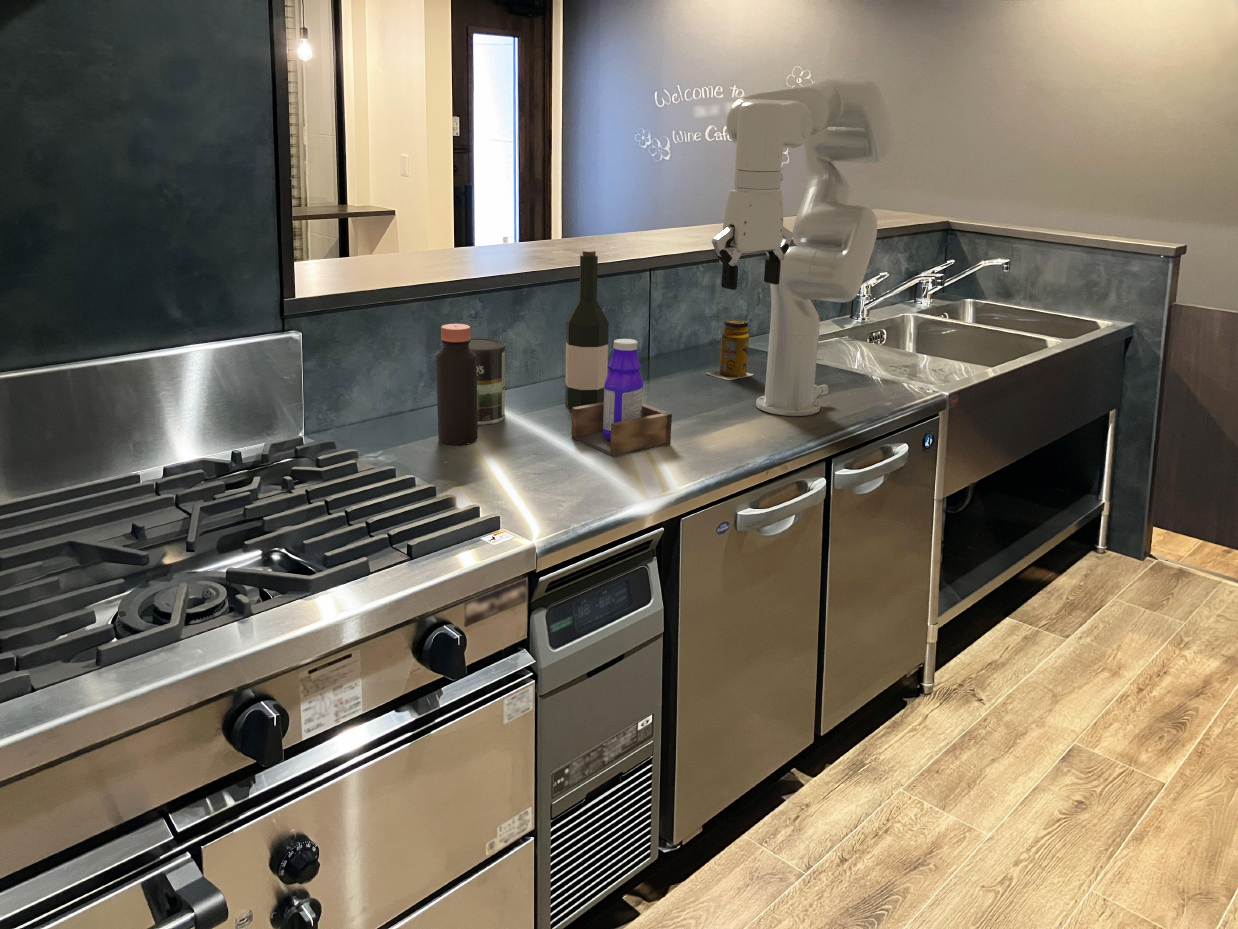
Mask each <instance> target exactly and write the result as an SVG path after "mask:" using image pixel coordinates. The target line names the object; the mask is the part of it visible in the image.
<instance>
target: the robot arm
mask: <svg viewBox="0 0 1238 929" xmlns="http://www.w3.org/2000/svg"><path fill="white" fill-rule="evenodd" d="M890 118H891V117H890V115H889V111H888V106H887V103H886V100H885V96H884V95H883V92H882V90H881V89H880V87H879V86H878V85H877V84H876V83H875V82H874V81H872V80H870V79H855V78H854V79H849V78H848V79H847V78H846V79H845V78H844V79H843V78H826V79H820V80H815V81H814V82H811V83H808V84H805V85H803V86H799V87H791V88H785V89H780V90H774V91H767V92H760V93H754V94H750V95H746V96H744V97H741V98H739V99H737V100H736V101H735V102H734V103H733V104H732V105H731V106H730V108H729V111H728V114H727V117H726V123H725V124H726V131H727V136H728V137H729V139H730V140H731V141H732V142H733V143H734V145H736V146H735V161H734V162H735V164H734V178H733V180H734V183H733V189H730V190H729V194H728V195H727V196H728V197H727V200H726V206H725V210H724V217H723V224H722V231H721V232H720V233H718V234H717V235H715V236H714V237H713V238H712V239H711V243H712V246H713V248H714V253H715V256H716V257H717V258H718V260H719V263H720V264H721V265H722V270H721V287H722V288H724V289H728V290H732V291H736V290H737V288H738V279H739V278H738V275H739V265H736V263H737V262H738V261H739V259H740V257H741V256H742V255H743V254H752V253H753V254H754V253H764V252H765V254H766V255H767V257H768V258H765V261H764V274H763V281H764V283H767V284H769V287H770V298H771V300H770V302H771V304H770V305H771V306H770V307H771V310H770V324H769V334H768V335H769V336H768V348H767V361H766V362H767V363H766V373H765V374H766V375H765V389H764V395H762V396H759V397H757V398H756V400H755V401H756V402H755V406H756V407H757V408H758V410H761V411H763V412H766V413H769V414H772V415H778V416H788V417H803V416H810V415H811V416H812V415H815V414H817V413H818V412H820V410H821V404H820V402H819V401H817V397H818V396H820V395H826V394H828V393H829V386H828V384H825V383H824V384H821V385H817V384H815V381H816V371H817V361H818V349H819V348H818V347H819V340H820V339H819V338H820V329H821V328H820V327H821V324H820V323H821V321H820V316H819V313H818V311H817V310H816V308H815V306H814V304H813V302H812V301H814V300H817V301H827V302H835V303H848V302H852V301H853V300H854V299H855V298H856V297H857V295H858V294H859V292H860V290H861V287H862V284H863V281H864V278H865V275H866V272H867V269H868V266H869V262H870V260H871V256H872V254H873V250H874V247H875V243H876V240H877V235H878V219H877V216H876V214H875V212H874V210H872V209H871V208H869V207H867V206H865V205H860V204H859V205H858V204H848V202H849V200H850V196H851V187H850V184H849V182H848V179H847V178H846V177H845V175H844V174H843V173H842V171H841V170H840V169H839V168H838V167H837V165H836V164H835V162H839V163H841V162H842V163H857V164H858V163H859V164H879V163H881V162H884V161H885V160H886V159H887V158H888V156H889V155H890V153H891V151H892V147H893V141H894V133H893V126H892V122H891V119H890ZM801 146H803V153H804V154H803V156H804V164H805V171H806V177H807V178H806V179H807V184H806V185H807V186H806V188H805V189H806V190H805V192H804V196H803V198H802V201H801V204H800V206H799V209H798V212H797V215H796V218H795V220H794V223H793V227H792V231H791V230H789V229H788V228H786V227H785V226H784V203H783V192H782V190H781V182H782V181H783V180H784V175H783V174H782V165H783V164H782V163H783V150H784V149H795V148H799V147H801ZM792 241H793V243H794V244H795V245H796V246H795V245H794V246H790V244H791V243H792Z"/></svg>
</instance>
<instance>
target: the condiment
mask: <svg viewBox="0 0 1238 929" xmlns="http://www.w3.org/2000/svg"><path fill="white" fill-rule="evenodd" d="M723 325H724V326H723V332H722V333H721V340H720V355H719V357H720V358H719V370H714V371H709V372H705V374H707V375H709V376H712V377H713V378H714V377H715V378H718V379H724V380H727V381H733V380H736V379H742V378H748V377H751V376H754V375H755V374H754V373H749V372H747V369H748V355H749V343H750V335H749V333H748V332H749V322H748V321H747V320H743V319H735V318H732V319H726V320H724V324H723Z"/></svg>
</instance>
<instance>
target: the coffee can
mask: <svg viewBox="0 0 1238 929" xmlns="http://www.w3.org/2000/svg"><path fill="white" fill-rule="evenodd" d="M469 348H470V349H471V350H472V351H473V352H474V353H475V355H476V358H477V424H478V426H485V425H493V424H497V423H498V424H499V423H500V422H502V421H504V420H505V418H506V413H505V410H506V408H505V406H506V403H505V402H506V400H505V398H506V388H505V385H506V384H505V382H506V362H505V361H506V359H505V358H506V352H505V351H506V343H505V342H504V341H502V340H498V339H495V338H489V337H488V338H486V337H471V339H470V343H469Z"/></svg>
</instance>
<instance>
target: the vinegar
mask: <svg viewBox="0 0 1238 929" xmlns="http://www.w3.org/2000/svg"><path fill="white" fill-rule="evenodd" d="M471 334H472V333H471V326H470V325H468V324H465V323H448V324H443V325H441V326H440V337H441V343H442V344H443V345H442V346H443V348H441V350H440V351H439V352H438V353H437V354H436V357H435V363H436V364H435V365H436V366H435V367H436V368H435V369H436V370H435V371H436V398H437V399H436V400H437V404H436V405H437V406H436V407H437V436H438V440H439V442H441V443H442V444H445V445H450V446H465V445H470V444H473V443H476V442H477V440H478V436H479V435H478V430H479V429H478V428H479V427H478V426H479V425H478V424H477V358H476V355H475V353H474V352H473V351H472V350H471V349H470V348H469V343H470V339H471V338H472V335H471Z"/></svg>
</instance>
